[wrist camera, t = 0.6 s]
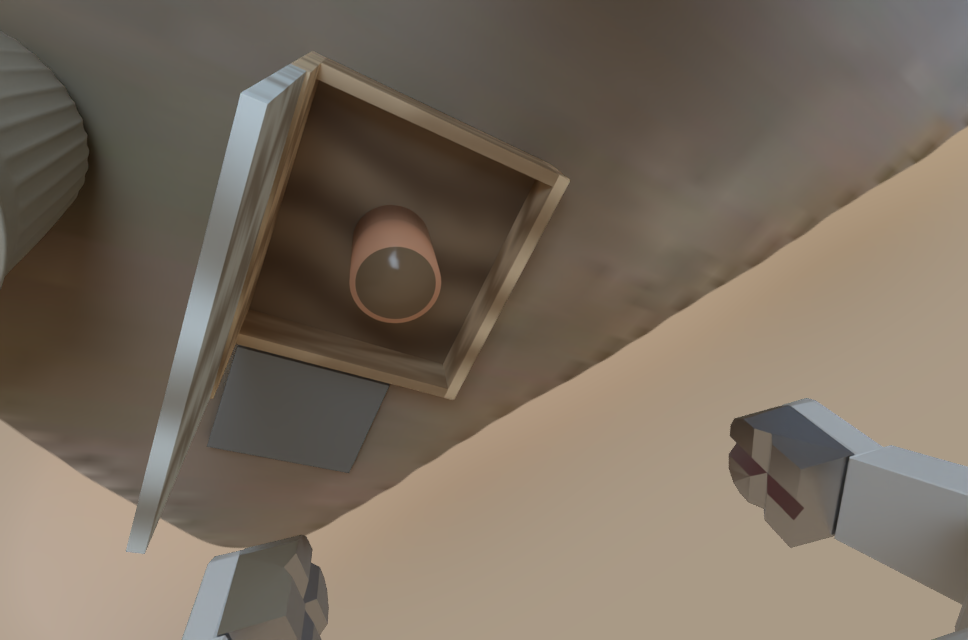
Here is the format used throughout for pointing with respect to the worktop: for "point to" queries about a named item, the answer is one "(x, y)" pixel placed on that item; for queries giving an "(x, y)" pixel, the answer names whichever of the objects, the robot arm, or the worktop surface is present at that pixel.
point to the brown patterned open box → (344, 245)
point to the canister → (35, 151)
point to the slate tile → (295, 410)
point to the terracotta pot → (393, 265)
